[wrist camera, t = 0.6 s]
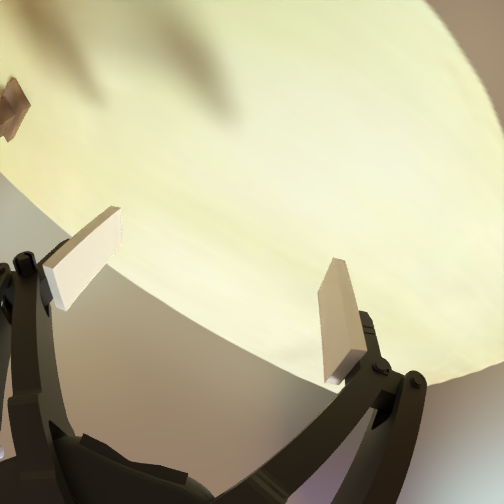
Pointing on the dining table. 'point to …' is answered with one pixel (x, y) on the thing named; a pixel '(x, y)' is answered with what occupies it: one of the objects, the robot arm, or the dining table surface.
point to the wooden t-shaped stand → (12, 109)
